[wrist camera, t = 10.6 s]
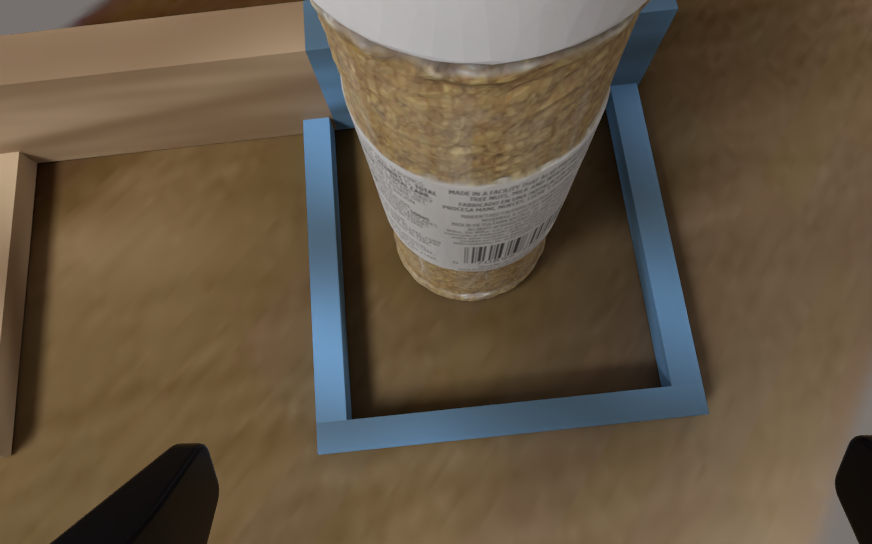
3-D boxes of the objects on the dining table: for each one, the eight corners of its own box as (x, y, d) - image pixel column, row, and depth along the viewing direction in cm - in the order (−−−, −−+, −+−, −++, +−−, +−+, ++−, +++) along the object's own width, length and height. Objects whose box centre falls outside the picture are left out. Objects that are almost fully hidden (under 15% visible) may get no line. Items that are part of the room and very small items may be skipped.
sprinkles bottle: (525, 149, 18) (692, -566, 5) (560, 290, 17) (897, -172, 4) (381, 177, 18) (170, -472, 5) (405, 320, 17) (214, -44, 4)
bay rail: (701, 414, 16) (778, 409, 12) (-357, 524, 16) (-614, 554, 12) (623, 56, 19) (665, -41, 15) (-267, 156, 19) (-451, 87, 15)
